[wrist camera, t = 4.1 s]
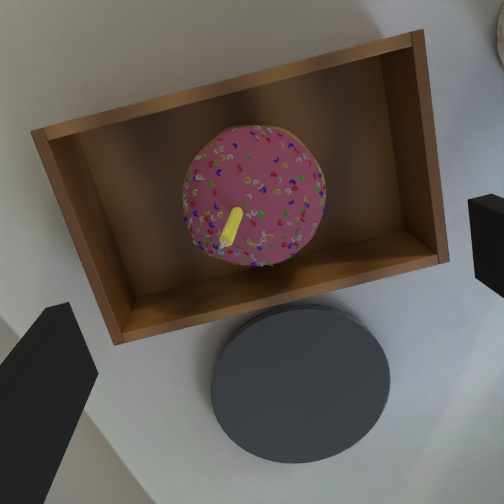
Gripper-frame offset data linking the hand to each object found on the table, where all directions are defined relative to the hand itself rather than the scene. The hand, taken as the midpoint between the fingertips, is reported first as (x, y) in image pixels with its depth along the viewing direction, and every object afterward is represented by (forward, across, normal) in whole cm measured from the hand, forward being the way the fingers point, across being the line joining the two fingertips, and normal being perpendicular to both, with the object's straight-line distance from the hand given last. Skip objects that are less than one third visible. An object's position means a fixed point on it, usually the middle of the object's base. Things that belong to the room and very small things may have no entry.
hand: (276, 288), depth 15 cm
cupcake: (+18, 0, 0) cm, 18 cm away
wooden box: (+18, 0, 0) cm, 18 cm away
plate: (+18, 0, -16) cm, 25 cm away
